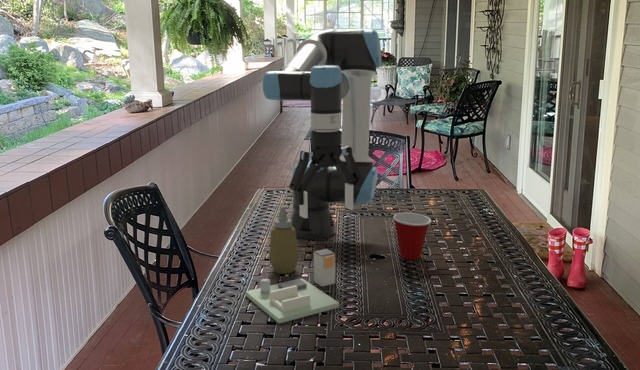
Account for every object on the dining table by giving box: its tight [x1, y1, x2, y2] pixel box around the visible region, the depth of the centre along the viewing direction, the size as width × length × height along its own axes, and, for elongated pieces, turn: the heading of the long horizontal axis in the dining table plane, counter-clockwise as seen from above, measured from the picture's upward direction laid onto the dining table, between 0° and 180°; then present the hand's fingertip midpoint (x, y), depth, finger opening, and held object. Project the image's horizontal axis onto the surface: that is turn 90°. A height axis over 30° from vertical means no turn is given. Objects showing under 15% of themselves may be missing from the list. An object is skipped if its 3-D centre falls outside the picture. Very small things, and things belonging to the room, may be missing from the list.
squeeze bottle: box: [268, 206, 300, 275], centre depth 173 cm, size 8×8×18 cm
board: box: [245, 277, 340, 324], centre depth 155 cm, size 18×16×4 cm
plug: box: [313, 248, 336, 287], centre depth 166 cm, size 5×4×8 cm
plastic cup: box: [392, 212, 432, 261], centre depth 183 cm, size 11×11×12 cm
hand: (326, 212), depth 163 cm, fingers open, 13 cm apart
